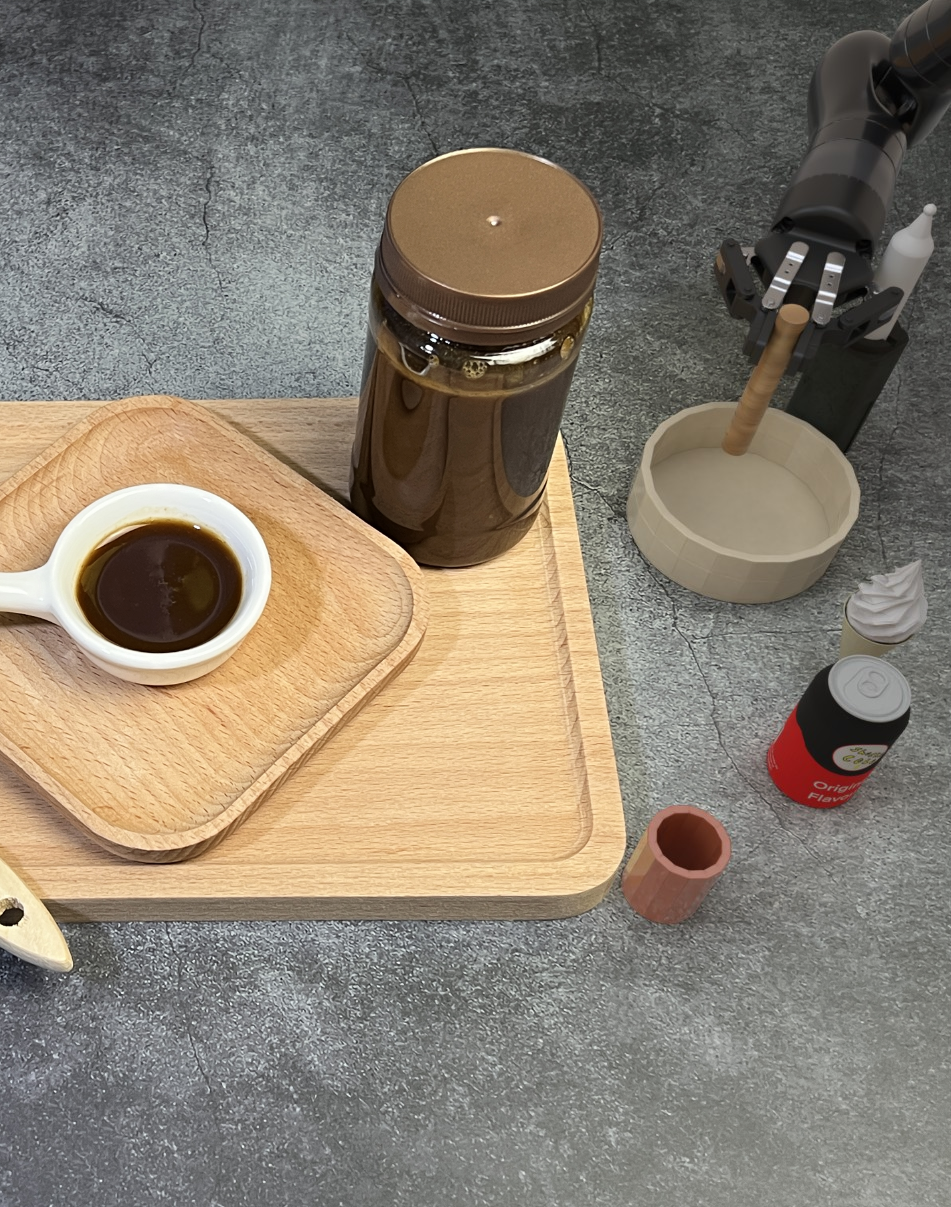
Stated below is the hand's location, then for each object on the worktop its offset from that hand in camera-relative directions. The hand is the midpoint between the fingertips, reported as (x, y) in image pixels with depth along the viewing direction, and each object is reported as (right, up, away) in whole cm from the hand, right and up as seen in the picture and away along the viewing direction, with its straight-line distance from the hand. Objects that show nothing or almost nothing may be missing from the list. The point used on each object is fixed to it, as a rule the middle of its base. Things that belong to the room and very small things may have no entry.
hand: (774, 361), depth 100 cm
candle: (+12, -3, +21) cm, 25 cm away
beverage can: (+4, -29, +3) cm, 30 cm away
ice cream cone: (+8, -23, +8) cm, 25 cm away
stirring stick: (+2, -5, +11) cm, 12 cm away
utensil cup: (-9, -37, -1) cm, 38 cm away
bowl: (+4, -10, +17) cm, 20 cm away
